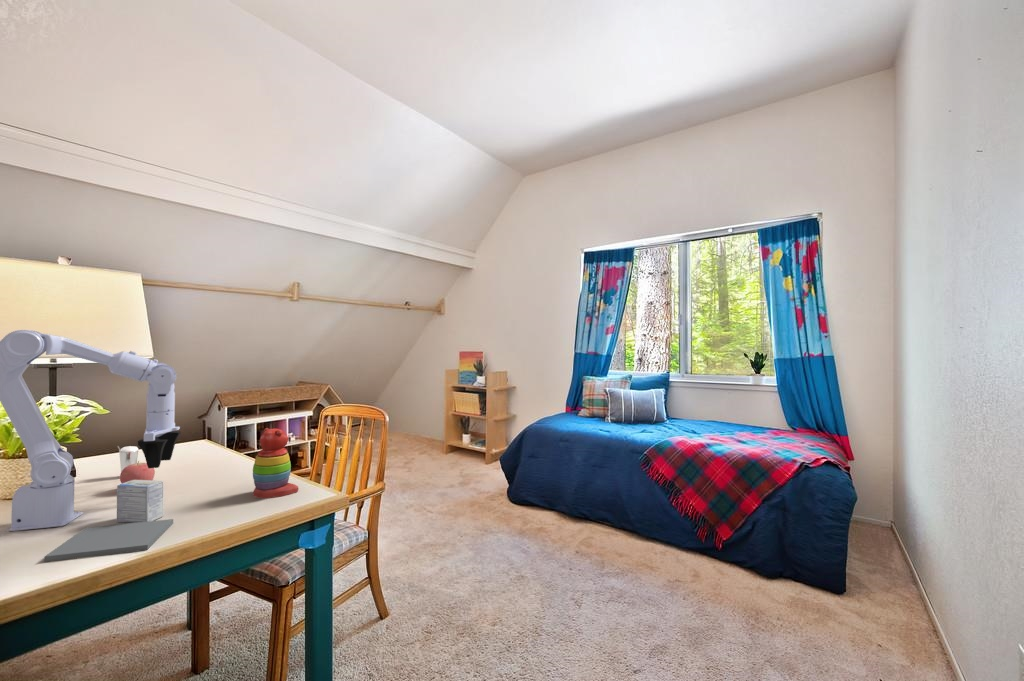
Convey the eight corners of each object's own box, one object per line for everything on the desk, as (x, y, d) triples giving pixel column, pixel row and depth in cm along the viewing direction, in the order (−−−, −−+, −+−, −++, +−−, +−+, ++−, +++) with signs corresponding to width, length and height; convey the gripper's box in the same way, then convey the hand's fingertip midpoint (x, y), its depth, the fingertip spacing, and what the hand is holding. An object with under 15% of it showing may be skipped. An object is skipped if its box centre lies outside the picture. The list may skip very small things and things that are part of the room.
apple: (129, 486, 129) (130, 458, 130) (159, 484, 131) (159, 457, 131) (113, 494, 122) (114, 465, 122) (144, 493, 124) (145, 463, 124)
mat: (44, 561, 85) (44, 556, 85) (85, 532, 98) (85, 527, 98) (147, 549, 90) (147, 544, 90) (173, 523, 104) (173, 518, 104)
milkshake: (111, 478, 136) (112, 445, 136) (131, 473, 141) (131, 441, 141) (122, 480, 135) (123, 446, 135) (141, 475, 140) (142, 442, 140)
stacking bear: (301, 491, 127) (302, 427, 127) (266, 501, 119) (267, 433, 119) (278, 484, 133) (279, 423, 133) (243, 494, 124) (244, 429, 124)
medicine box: (164, 516, 107) (164, 480, 107) (147, 524, 103) (147, 486, 103) (133, 515, 108) (134, 479, 108) (115, 522, 104) (116, 484, 104)
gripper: (168, 414, 111) (167, 470, 111) (188, 406, 124) (187, 455, 124) (133, 415, 108) (132, 472, 108) (157, 407, 122) (156, 457, 122)
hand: (159, 463), depth 116 cm, fingers open, 7 cm apart
